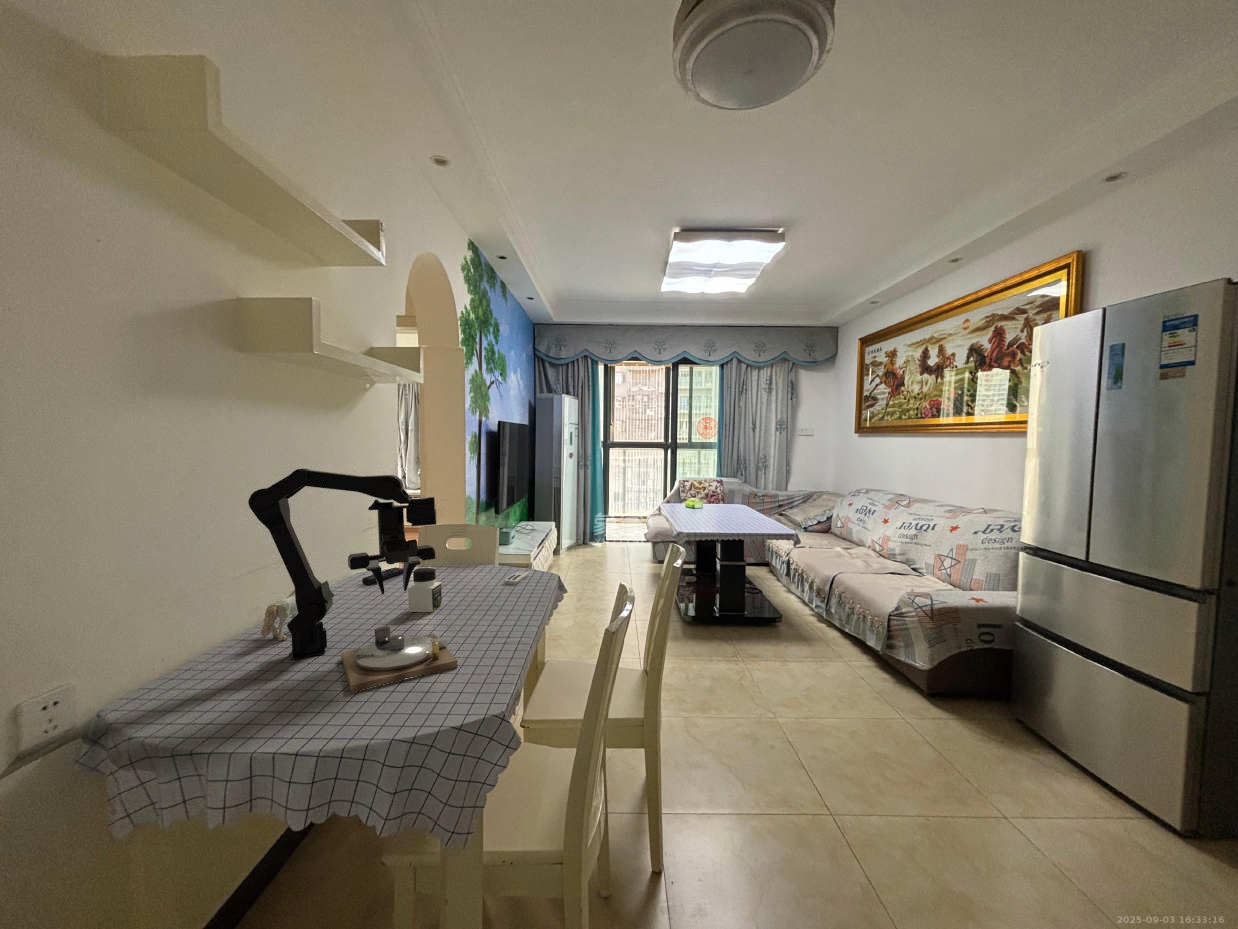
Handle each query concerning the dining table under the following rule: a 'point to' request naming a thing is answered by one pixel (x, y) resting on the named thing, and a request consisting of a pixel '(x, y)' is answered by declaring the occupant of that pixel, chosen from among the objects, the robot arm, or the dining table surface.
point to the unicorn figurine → (282, 611)
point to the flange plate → (385, 659)
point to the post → (397, 642)
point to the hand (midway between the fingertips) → (394, 592)
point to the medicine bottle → (424, 591)
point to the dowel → (435, 650)
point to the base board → (368, 679)
